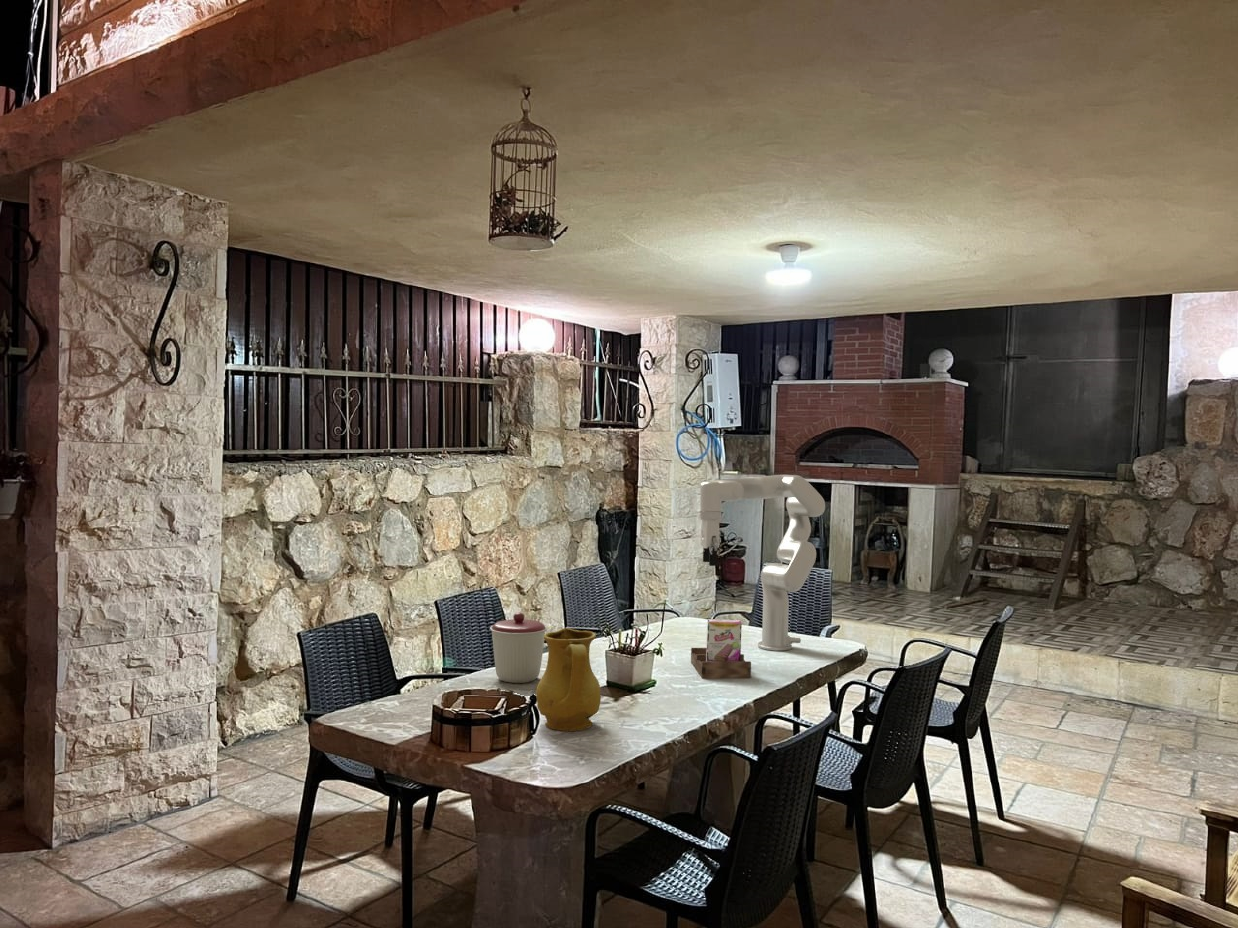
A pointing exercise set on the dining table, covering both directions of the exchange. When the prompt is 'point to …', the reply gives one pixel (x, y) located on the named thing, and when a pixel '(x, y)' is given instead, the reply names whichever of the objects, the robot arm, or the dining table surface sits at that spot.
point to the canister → (518, 648)
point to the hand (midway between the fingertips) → (710, 563)
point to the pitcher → (568, 682)
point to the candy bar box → (723, 640)
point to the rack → (719, 666)
